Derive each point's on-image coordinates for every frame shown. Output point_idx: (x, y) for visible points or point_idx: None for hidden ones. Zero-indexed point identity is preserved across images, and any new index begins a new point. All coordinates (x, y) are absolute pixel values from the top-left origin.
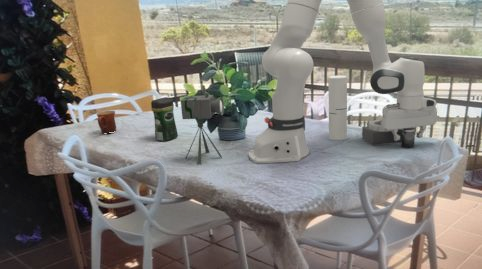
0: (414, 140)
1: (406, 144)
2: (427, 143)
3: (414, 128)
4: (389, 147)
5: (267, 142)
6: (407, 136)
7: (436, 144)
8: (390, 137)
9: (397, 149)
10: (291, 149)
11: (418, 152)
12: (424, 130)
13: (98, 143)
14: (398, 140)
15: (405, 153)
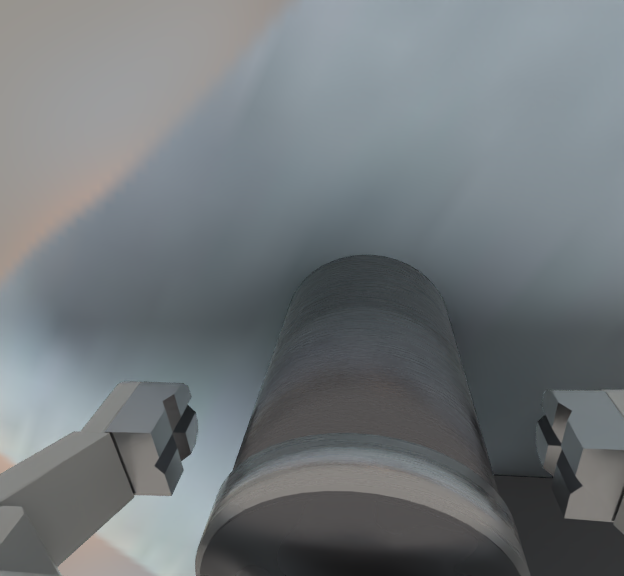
0: (283, 337)
1: (430, 305)
2: (95, 343)
3: (224, 551)
4: (611, 371)
5: None
6: (442, 389)
7: (5, 281)
8: None
9: (575, 269)
10: None
11: (368, 29)
12: (18, 468)
13: None
14: None
15: (609, 42)
